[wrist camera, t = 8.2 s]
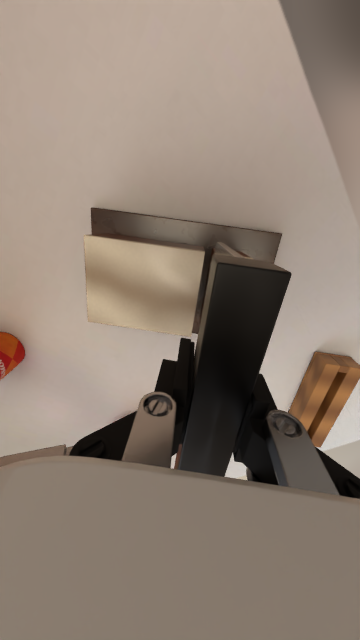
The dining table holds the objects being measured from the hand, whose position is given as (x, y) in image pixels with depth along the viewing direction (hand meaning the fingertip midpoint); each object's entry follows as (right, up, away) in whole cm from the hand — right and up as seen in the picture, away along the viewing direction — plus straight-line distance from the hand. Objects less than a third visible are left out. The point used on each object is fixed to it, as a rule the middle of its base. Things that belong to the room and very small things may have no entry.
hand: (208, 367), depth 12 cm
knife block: (+19, -9, +22) cm, 31 cm away
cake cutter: (0, +3, +6) cm, 7 cm away
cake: (-3, +8, +17) cm, 19 cm away
